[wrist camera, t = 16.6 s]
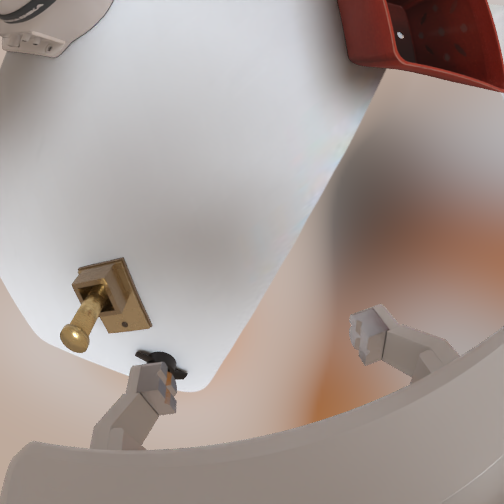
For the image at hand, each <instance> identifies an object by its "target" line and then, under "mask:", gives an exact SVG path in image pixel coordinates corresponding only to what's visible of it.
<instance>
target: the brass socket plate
mask: <svg viewBox="0 0 504 504" xmlns="http://www.w3.org/2000/svg"><path fill="white" fill-rule="evenodd" d="M78 273H79V275H78V277H77V278H76V279H75V281H74V282H73V283H72V287H73V289H74V291H75V293H76V295H77V297H78V299H79V301H80V303H81V304H82V303H83V301H84V300H85V298H86V296H87V295H88V293H89V292H90V290H91V289H92V287H93V285H97V284H103V286H104V288H105V290H106V292H107V295H108V299H107V301H106V302H105V304H104V306H103V308H102V310H101V312H100V314H99V316H98V317H100V318H101V320H102V322H103V324H104V326H105V327H106V329H107V331H108V333H118V332H126V331H134V330H141V329H149V328H150V327H152V323H151V321H150V319H149V317H148V315H147V313H146V310H145V308H144V306H143V304H142V301H141V299H140V297H139V294H138V292H137V290H136V287H135V285H134V283H133V280H132V278H131V275H130V273H129V270H128V268H127V265H126V262H125V260H124V257H123V258H119V259H114V260H110V261H106V262H101V263H97V264H93V265H88V266H84V267H80V268H79V269H78Z"/></svg>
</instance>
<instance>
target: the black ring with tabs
mask: <svg viewBox="0 0 504 504" xmlns="http://www.w3.org/2000/svg"><path fill="white" fill-rule="evenodd" d="M135 356H136V357H138V358H140V359H142V360H144V361H146V362H147V364H150V363H157V362H165V364H166V365H167V367H168V370H167V371H168V372H170V373H172V375H173V376H174V379H184V378H185V377H186V376H187V374H188V373H185V372H182V371H179V370H178V369H176V361H175V359H174V358H173V357H172V356H171V355H169V354H167V353H164V352H154V353H151V354H150V355H149V356H147V355H145V354H142V353H139V352H137V353H136V355H135Z"/></svg>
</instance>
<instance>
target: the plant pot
mask: <svg viewBox="0 0 504 504" xmlns="http://www.w3.org/2000/svg"><path fill="white" fill-rule="evenodd" d="M337 2H338V6H339V10H340V15H341V20H342V25H343V29H344V35H345V40H346V45H347V51H348V57H349V59H350V61H351V62H353V63H355V64H357V65H361V66H366V67H378V68H389V69H398V70H404V71H410V72H415V73H419V74H423V75H428V76H432V77H436V78H440V79H444V80H448V81H452V82H456V83H461V84H465V85H470V86H475V87H479V88H484V89H488V90H493V91H497V92H502V93H504V63H503V58H502V53H501V48H500V44H499V40H498V36H497V32H496V28H495V24H494V21H493V18H492V14H491V11H490V8H489V5H488V2H487V0H337ZM399 31H400V32H402V33H403V35H404V38H403V39H401V38H399V37H398V35H397V32H399Z"/></svg>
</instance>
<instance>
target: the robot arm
mask: <svg viewBox="0 0 504 504" xmlns="http://www.w3.org/2000/svg"><path fill="white" fill-rule="evenodd" d="M112 1H113V0H0V36H2V37H3V39H2V48H3V50H6V51H11V52H20V53H28V54H35V55H42V56H48V57H58V56H59V55H60V54H61V53H62V52H63V51H64V50H65V49H66V48H67V47H68V45H69V44H70V43H71V42H72V41H74V40H75V39H77V38H78V37H80V36H81V35H83V34H84V33H86V32H87V31H88V30H90V29H91V28H92V27H93V26H94V25H95V24H96V23H97V22H98V21H99V20H100V19H101V18H102V17H103V15H104V14H105V13H106V11H107V10H108V8H109V7H110V5H111V3H112ZM51 48H52V49H51ZM50 49H51V50H50ZM350 323H351V325H352V326H351V327H350V329H349V333H350V334H349V335H350V339H351V342H352V345H353V346H354V348H355V349H357V350H359V357H360V358H361V360H362V362H363V363H364V365H365V366H366V365H369V364H372V363H374V362H377V361H379V360H382V361H384V362H386V363H388V364H389V365H391V366H393V367H394V368H396V369H398V370H400V371H402V372H403V373H405V374H407V375H409V376H411V377H412V380H411V382H410V385H408V386H406V387H404V388H401V389H399V390H397V391H395V392H393V393H391V394H389V395H386V396H384V397H382V398H379V399H377V400H375V401H373V402H370V403H367V404H365V405H363V406H360V407H358V408H355V409H352V410H350V411H347V412H344V413H341V414H338V415H336V416H333V417H330V418H327V419H324V420H321V421H317V422H314V423H311V424H307V425H304V426H301V427H297V428H293V429H290V430H286V431H282V432H278V433H274V434H269V435H265V436H260V437H256V438H251V439H246V440H241V441H235V442H229V443H223V444H215V445H208V446H200V447H191V448H179V449H164V450H146V449H145V448H144V447H143V446H141V445H142V444H143V441H144V440H145V438H146V437H147V435H148V434H149V432H150V430H151V429H152V427H153V425H154V424H155V422H156V420H157V419H158V417H159V416H158V415H166V414H173V413H176V400H175V398H174V396H175V395H176V393H177V386H176V381H175V379H174V376H173V375H172V373H170V372H168V371H167V370H168V367H167V365H166V364H165V362H157V363H150V364H142V365H135V366H132V367H131V370H130V374H129V380H128V385H127V390H126V394H123V395H122V396H121V397H120V398H119V399H118V400H117V402H116V403H115V404H114V405H113V406H112V407H111V408H110V409H109V411H108V412H107V413H106V414H105V415H104V416H103V417H102V419H101V420H100V421H99V422H98V423H97V424H96V425H95V426H94V430H93V435H92V440H91V445H90V449H87V448H77V447H68V446H60V445H53V444H47V443H42V442H36V441H35V442H34V441H33V442H30V443H28V444H27V445H26V446H25V447H24V448H22V450H20V451H19V452H18V453H17V454H16V455H15V456H14V457H13V459H12V460H11V462H10V464H9V467H8V469H7V473H6V476H5V480H4V483H3V487H2V492H1V496H0V504H504V326H503V327H502V328H500V329H499V330H498V331H496V332H495V333H494V334H493V335H491V336H490V337H488V338H487V339H486V340H484V341H483V342H481V343H480V344H478V345H477V346H475V347H474V348H472V349H471V350H469V351H468V352H466V353H465V354H463V355H462V356H459V355H458V353H457V352H456V351H455V350H454V349H453V347H452V346H451V345H450V344H449V343H448V342H447V341H446V340H445V339H443V338H440V337H437V336H434V335H431V334H428V333H426V332H423V331H420V330H417V329H414V328H412V327H409V326H406V325H399V323H398V322H397V321H396V320H395V319H394V317H393V316H392V315H391V314H390V313H389V311H388V310H387V309H386V308H385V307H384V305H382V304H379V305H376V306H374V307H371V308H368V309H365V310H363V311H360V312H357V313H354V314H351V315H350Z"/></svg>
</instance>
